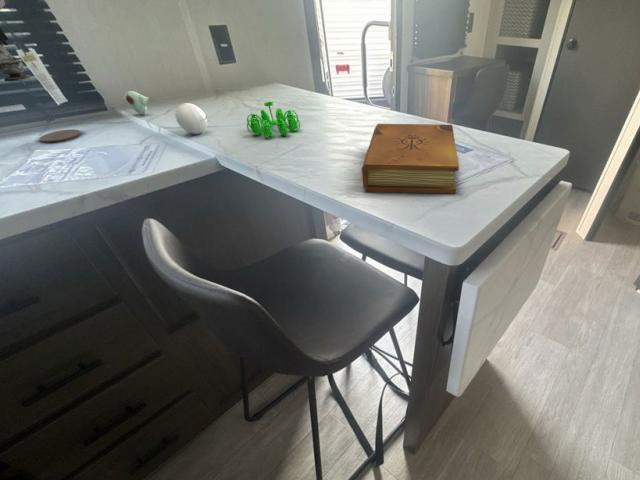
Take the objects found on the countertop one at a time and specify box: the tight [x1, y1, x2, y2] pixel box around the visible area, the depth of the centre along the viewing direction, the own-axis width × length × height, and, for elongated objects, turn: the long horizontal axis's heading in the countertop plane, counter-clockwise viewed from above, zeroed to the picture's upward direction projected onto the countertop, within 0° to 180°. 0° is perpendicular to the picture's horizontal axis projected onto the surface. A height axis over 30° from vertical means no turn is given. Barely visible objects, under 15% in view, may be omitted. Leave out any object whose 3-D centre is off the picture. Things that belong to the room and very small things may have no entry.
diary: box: [361, 123, 460, 195], centre depth 69 cm, size 23×19×6 cm
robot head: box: [123, 90, 150, 116], centre depth 98 cm, size 8×4×7 cm, turn 80°
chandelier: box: [246, 101, 301, 139], centre depth 87 cm, size 15×15×7 cm
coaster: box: [39, 128, 82, 144], centre depth 87 cm, size 9×9×1 cm
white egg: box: [174, 102, 208, 135], centre depth 87 cm, size 10×7×7 cm
